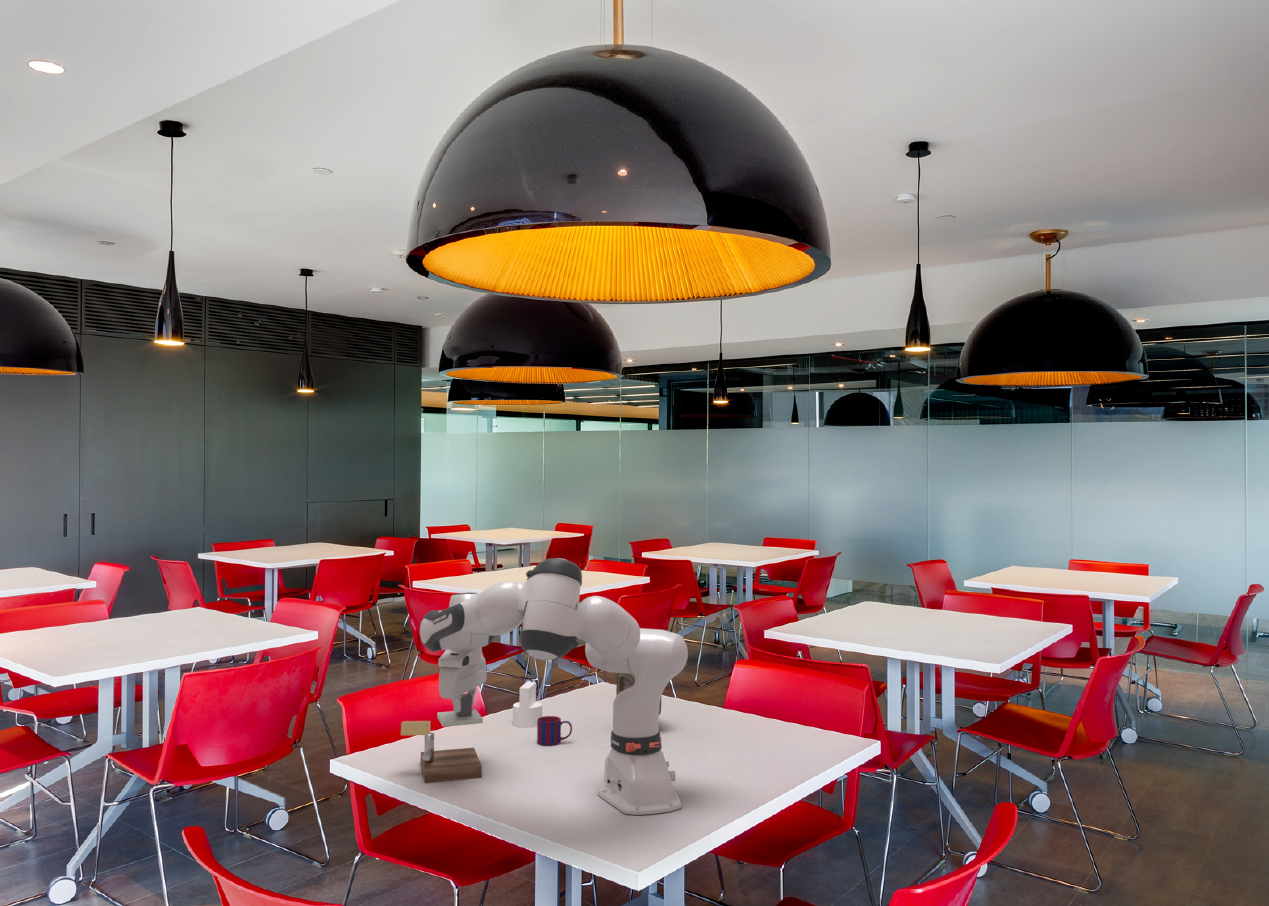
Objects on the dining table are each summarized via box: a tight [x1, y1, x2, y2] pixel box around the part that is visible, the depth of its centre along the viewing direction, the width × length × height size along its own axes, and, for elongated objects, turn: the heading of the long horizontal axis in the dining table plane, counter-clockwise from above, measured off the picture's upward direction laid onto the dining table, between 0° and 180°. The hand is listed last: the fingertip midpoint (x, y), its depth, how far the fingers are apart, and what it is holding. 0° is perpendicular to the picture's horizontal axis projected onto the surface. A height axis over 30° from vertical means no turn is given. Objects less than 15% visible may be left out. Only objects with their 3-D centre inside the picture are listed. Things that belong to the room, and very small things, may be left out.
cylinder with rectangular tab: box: [512, 681, 543, 729], centre depth 265 cm, size 9×9×12 cm
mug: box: [536, 715, 573, 747], centre depth 244 cm, size 7×10×7 cm
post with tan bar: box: [400, 720, 435, 762], centre depth 215 cm, size 8×5×10 cm, turn 94°
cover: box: [436, 693, 484, 728], centre depth 220 cm, size 10×10×6 cm
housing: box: [420, 747, 483, 784], centre depth 219 cm, size 16×14×3 cm
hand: (463, 708), depth 220 cm, fingers closed on cover, 5 cm apart
